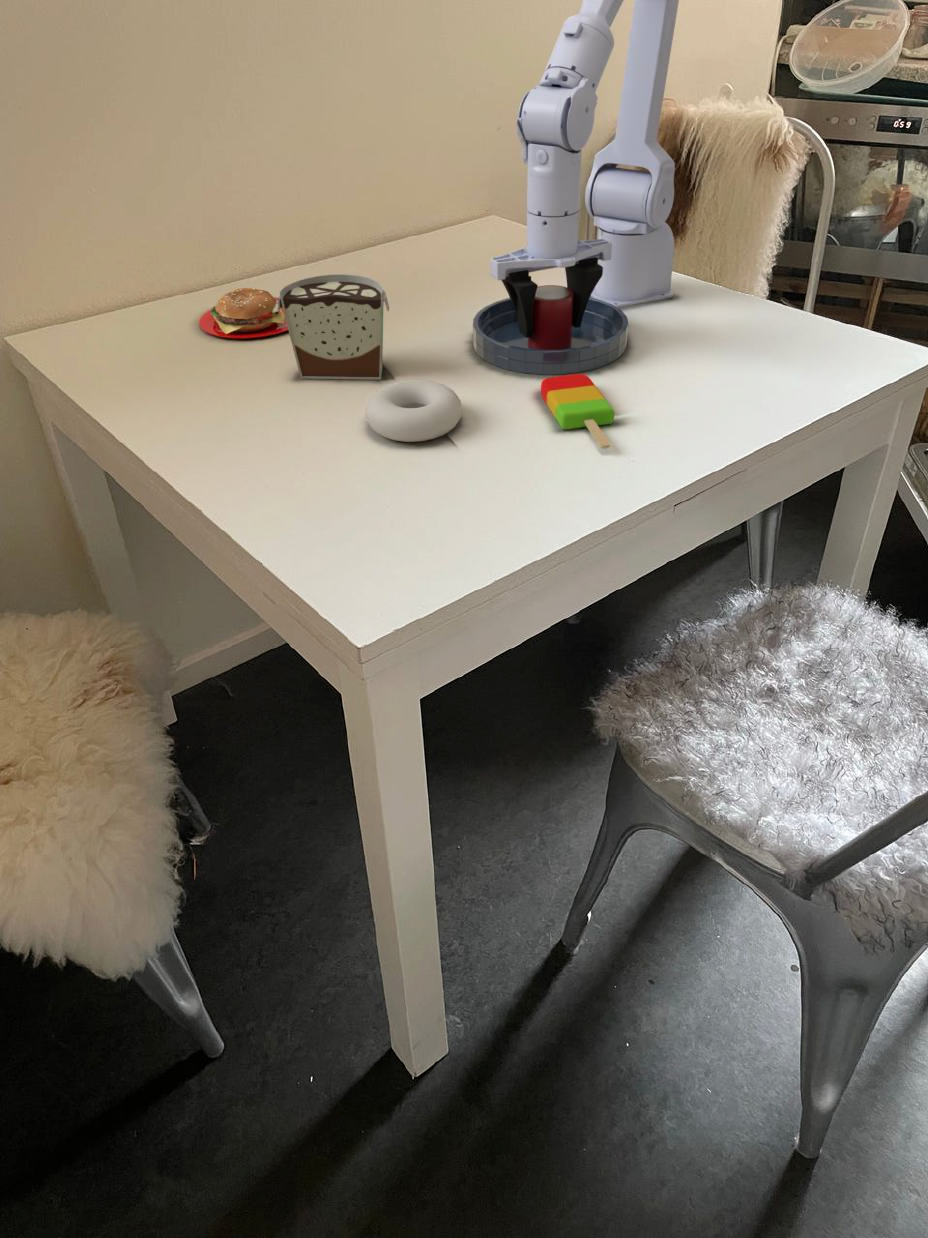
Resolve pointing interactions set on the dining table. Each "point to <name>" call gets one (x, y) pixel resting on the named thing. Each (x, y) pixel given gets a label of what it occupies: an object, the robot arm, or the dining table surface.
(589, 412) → the popsicle
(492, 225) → the dining table surface
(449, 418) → the donut
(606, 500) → the dining table surface
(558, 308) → the can
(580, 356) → the dark blue round plate
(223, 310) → the hamburger
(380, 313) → the food container
